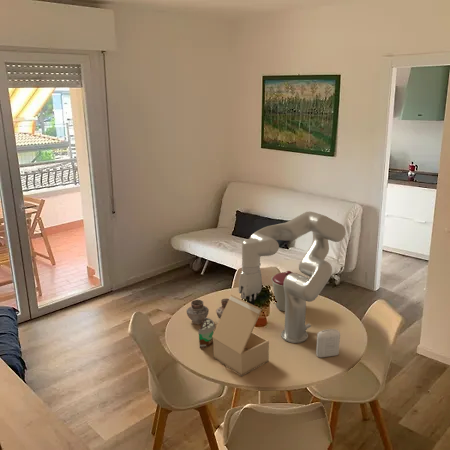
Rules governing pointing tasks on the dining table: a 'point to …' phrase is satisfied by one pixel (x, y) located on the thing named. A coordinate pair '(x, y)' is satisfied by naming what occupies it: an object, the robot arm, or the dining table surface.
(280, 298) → the canister
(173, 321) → the dining table surface
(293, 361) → the dining table surface
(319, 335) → the photo printer
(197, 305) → the pottery
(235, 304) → the carton lid
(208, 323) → the food container
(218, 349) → the carton
